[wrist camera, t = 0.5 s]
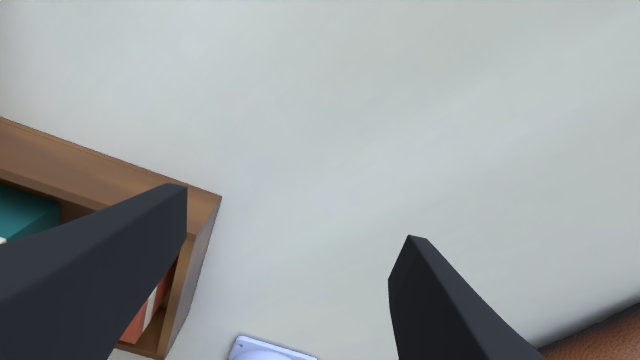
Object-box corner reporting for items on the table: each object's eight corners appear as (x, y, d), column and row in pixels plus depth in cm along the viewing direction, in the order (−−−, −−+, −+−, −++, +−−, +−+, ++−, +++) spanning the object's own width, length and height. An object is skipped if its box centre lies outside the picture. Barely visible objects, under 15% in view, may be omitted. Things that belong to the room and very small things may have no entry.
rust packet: (178, 276, 24) (135, 345, 19) (122, 258, 24) (62, 324, 19) (186, 244, 23) (141, 309, 18) (126, 224, 22) (61, 285, 17)
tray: (188, 314, 27) (163, 362, 23) (-7, 255, 25) (-69, 296, 21) (222, 196, 21) (196, 234, 17) (-31, 105, 19) (-123, 126, 15)
